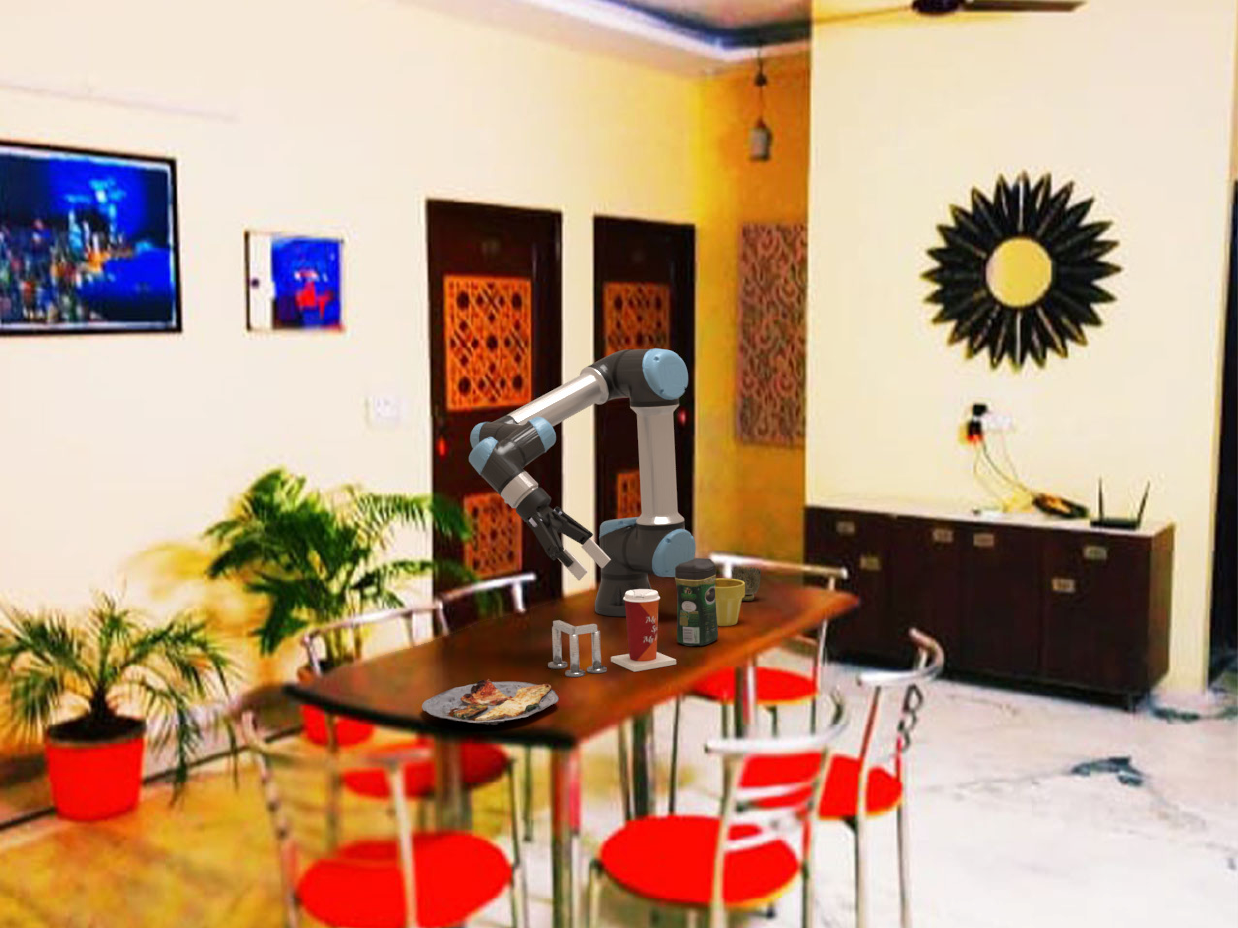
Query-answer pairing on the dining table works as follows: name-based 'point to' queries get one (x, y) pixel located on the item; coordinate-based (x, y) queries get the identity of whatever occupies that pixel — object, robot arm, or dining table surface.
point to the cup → (748, 581)
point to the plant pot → (728, 600)
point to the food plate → (491, 701)
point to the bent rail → (575, 648)
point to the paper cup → (642, 623)
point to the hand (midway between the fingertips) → (595, 570)
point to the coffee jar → (696, 602)
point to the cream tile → (643, 662)
